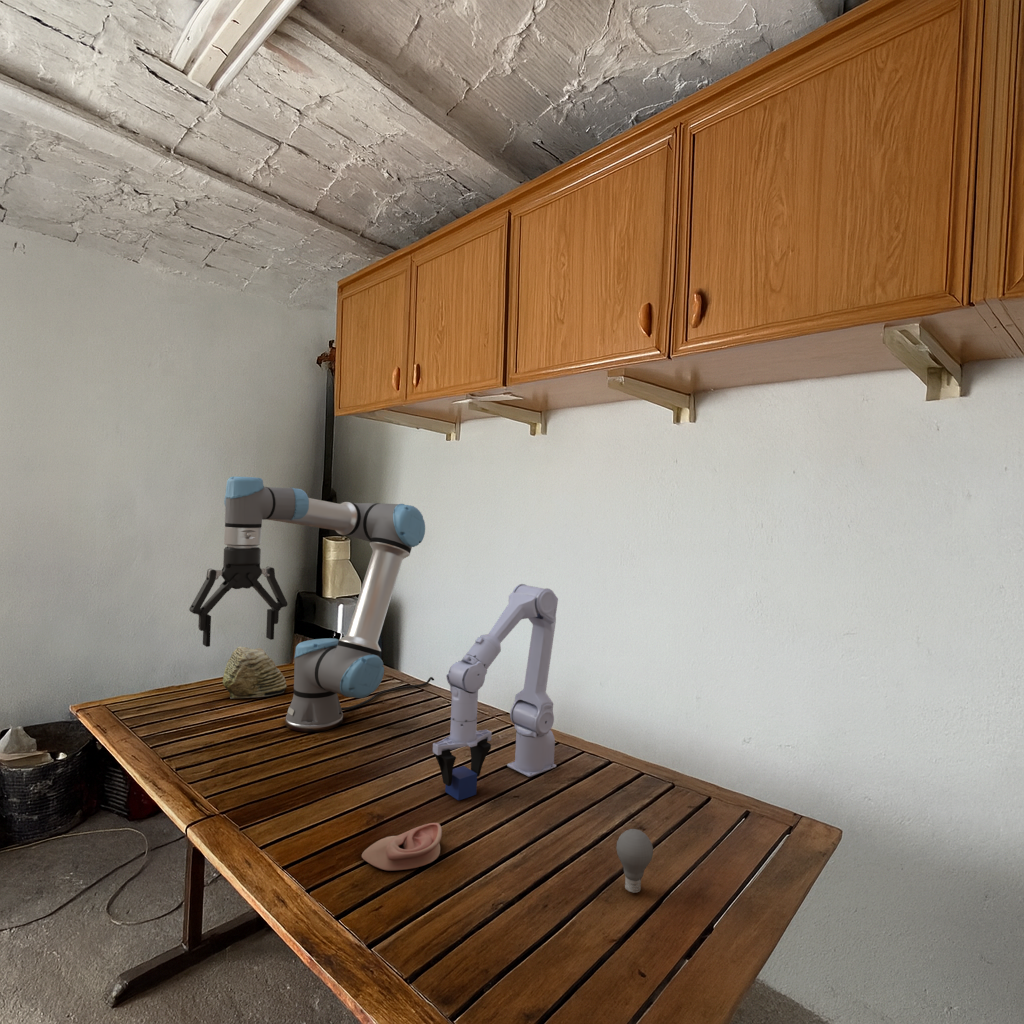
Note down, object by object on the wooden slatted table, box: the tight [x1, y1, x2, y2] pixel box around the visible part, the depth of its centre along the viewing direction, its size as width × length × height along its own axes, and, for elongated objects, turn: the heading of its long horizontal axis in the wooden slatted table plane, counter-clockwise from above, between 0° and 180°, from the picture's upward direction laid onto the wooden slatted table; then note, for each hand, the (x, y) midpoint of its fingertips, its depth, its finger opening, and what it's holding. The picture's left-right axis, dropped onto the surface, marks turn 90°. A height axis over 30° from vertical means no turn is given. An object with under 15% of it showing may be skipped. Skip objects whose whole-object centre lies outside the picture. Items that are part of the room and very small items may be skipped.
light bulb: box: [615, 828, 654, 894], centre depth 106 cm, size 6×6×10 cm
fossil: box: [222, 646, 288, 699], centre depth 198 cm, size 9×18×15 cm, turn 132°
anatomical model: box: [361, 822, 443, 872], centre depth 114 cm, size 13×4×12 cm
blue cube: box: [444, 765, 478, 801], centre depth 138 cm, size 5×5×5 cm
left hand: (239, 642), depth 141 cm, fingers open, 13 cm apart
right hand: (461, 779), depth 138 cm, fingers open, 7 cm apart
